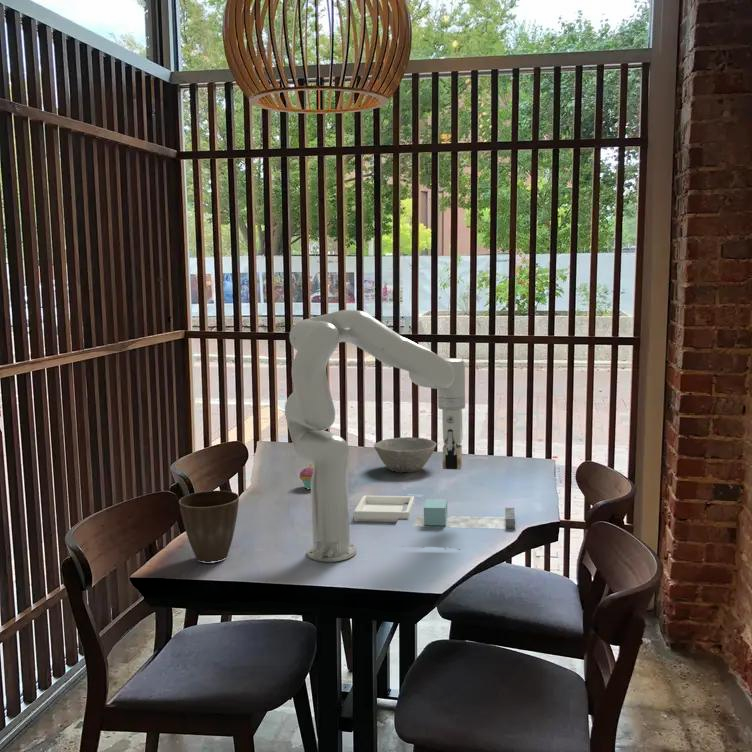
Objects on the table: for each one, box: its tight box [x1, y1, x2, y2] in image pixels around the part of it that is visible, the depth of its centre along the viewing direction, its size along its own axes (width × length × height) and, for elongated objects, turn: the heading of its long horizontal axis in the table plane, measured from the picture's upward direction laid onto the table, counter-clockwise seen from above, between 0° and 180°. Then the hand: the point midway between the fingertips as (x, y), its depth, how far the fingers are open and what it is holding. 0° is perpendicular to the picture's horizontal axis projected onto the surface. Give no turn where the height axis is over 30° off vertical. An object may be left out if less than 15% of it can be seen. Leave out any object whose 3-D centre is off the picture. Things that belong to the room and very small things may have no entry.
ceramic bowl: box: [373, 437, 437, 473], centre depth 274 cm, size 22×23×10 cm
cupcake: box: [299, 464, 314, 489], centre depth 254 cm, size 9×8×12 cm
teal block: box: [423, 498, 448, 525], centre depth 212 cm, size 8×6×5 cm
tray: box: [353, 495, 416, 523], centre depth 224 cm, size 16×16×3 cm
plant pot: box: [178, 490, 240, 562], centre depth 191 cm, size 15×15×16 cm
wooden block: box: [442, 443, 463, 471], centre depth 210 cm, size 5×5×6 cm
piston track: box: [412, 507, 516, 530], centre depth 211 cm, size 10×28×4 cm, turn 81°
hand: (452, 465), depth 211 cm, fingers closed on wooden block, 5 cm apart
